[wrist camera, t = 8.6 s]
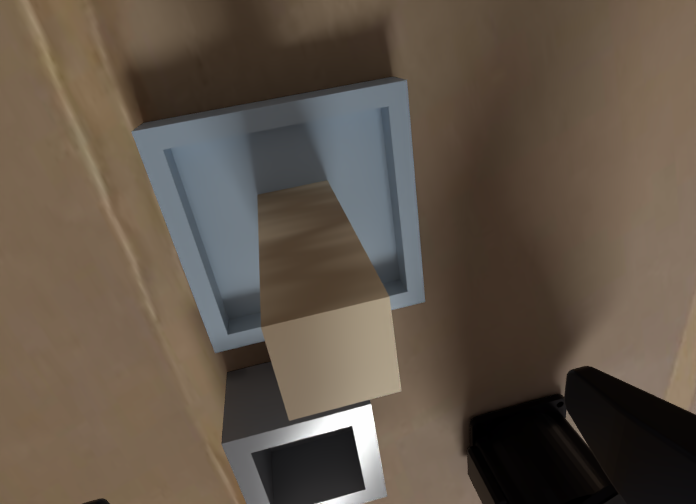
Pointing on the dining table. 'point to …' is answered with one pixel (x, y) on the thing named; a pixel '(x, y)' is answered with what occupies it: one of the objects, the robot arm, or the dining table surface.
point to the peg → (321, 304)
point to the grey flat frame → (281, 173)
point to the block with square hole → (297, 446)
